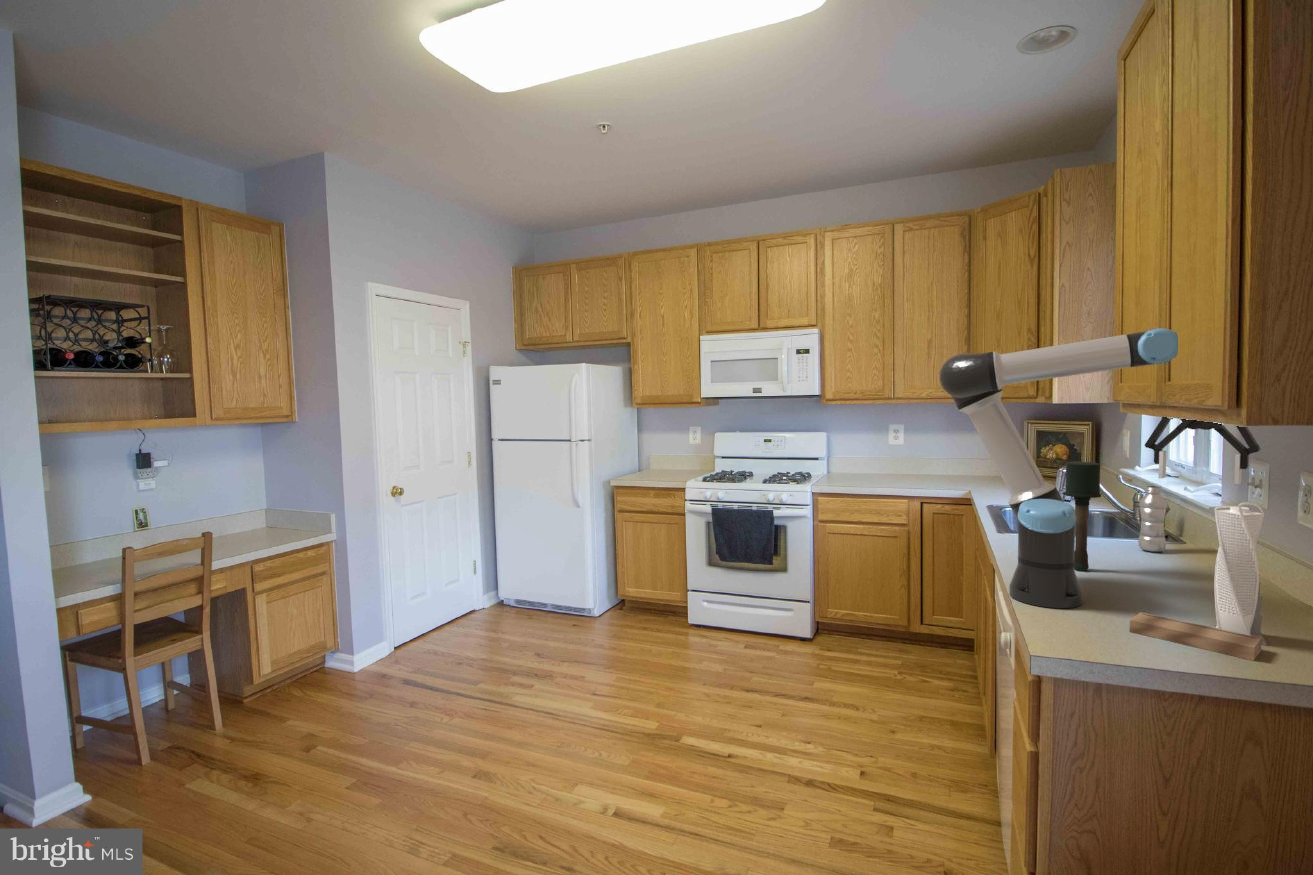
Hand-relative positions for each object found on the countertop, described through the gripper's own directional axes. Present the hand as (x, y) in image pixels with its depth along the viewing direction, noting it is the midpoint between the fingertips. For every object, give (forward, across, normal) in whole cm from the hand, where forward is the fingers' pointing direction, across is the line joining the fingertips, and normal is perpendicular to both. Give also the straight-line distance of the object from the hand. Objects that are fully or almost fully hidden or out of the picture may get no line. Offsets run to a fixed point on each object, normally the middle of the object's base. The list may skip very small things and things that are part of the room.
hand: (1198, 480), depth 147 cm
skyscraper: (+29, -11, +21) cm, 37 cm away
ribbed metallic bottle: (+29, +20, -47) cm, 59 cm away
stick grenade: (+29, +26, -10) cm, 40 cm away
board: (+29, -6, +30) cm, 42 cm away
